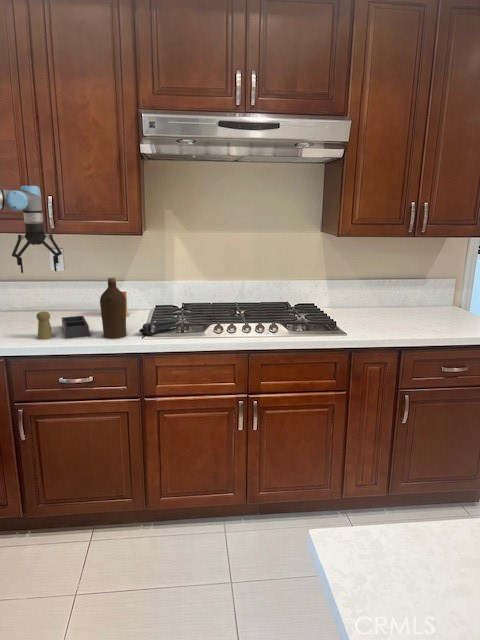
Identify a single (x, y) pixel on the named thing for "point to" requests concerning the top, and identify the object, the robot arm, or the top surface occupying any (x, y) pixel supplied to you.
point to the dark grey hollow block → (75, 327)
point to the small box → (125, 297)
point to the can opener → (150, 327)
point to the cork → (44, 326)
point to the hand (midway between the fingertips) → (39, 271)
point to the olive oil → (113, 311)
